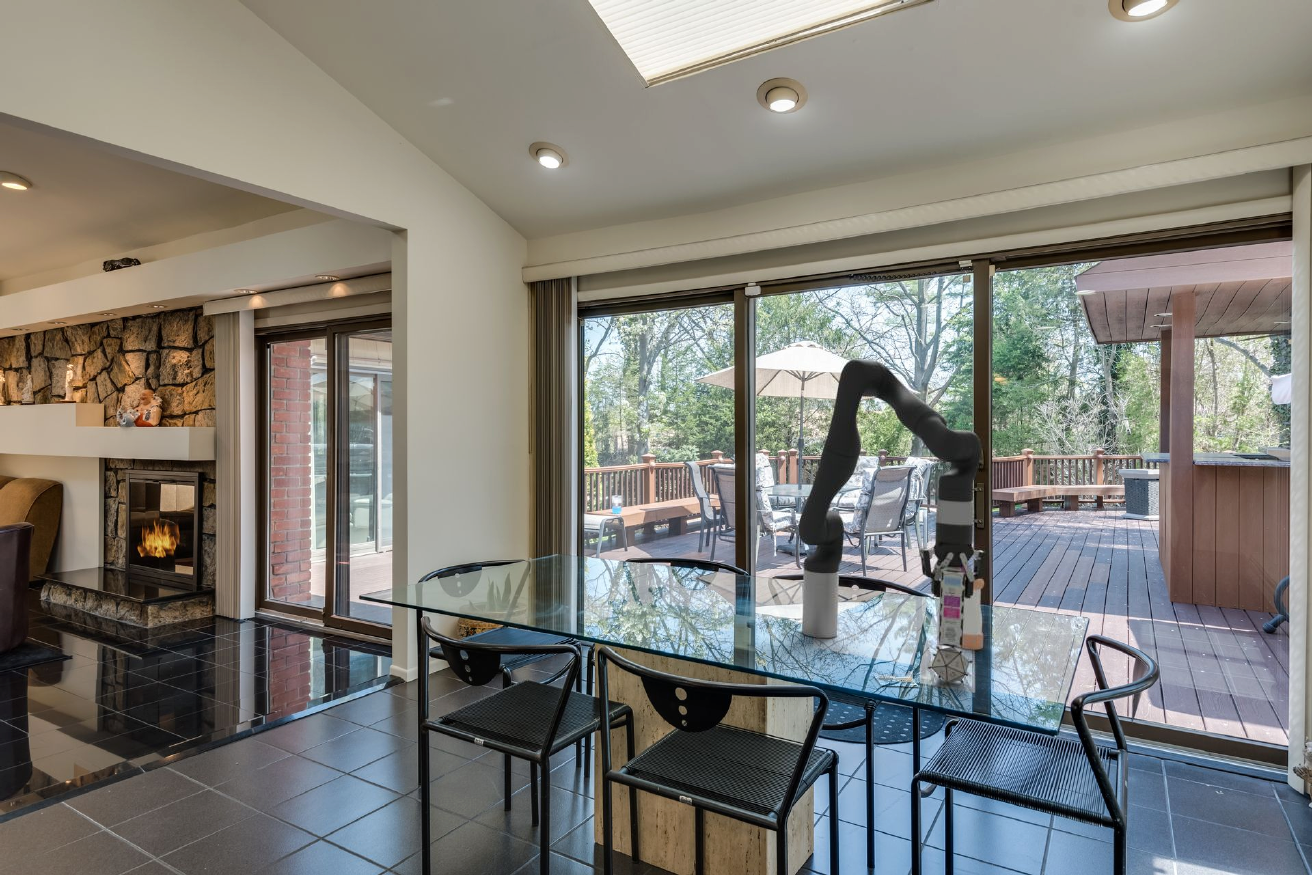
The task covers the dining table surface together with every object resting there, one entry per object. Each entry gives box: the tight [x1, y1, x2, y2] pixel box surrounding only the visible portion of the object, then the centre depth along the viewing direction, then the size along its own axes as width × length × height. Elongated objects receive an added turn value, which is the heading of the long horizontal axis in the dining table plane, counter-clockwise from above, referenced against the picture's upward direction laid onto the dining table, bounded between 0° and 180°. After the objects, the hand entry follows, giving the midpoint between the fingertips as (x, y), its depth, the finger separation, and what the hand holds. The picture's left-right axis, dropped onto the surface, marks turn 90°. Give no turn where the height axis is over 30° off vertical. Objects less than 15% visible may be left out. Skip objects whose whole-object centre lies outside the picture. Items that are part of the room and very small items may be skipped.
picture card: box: [873, 674, 920, 688], centre depth 158 cm, size 6×8×1 cm
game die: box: [927, 646, 974, 687], centre depth 159 cm, size 9×8×10 cm
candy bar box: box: [938, 567, 965, 649], centre depth 159 cm, size 11×5×16 cm, turn 159°
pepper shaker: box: [961, 578, 985, 651], centre depth 187 cm, size 7×7×19 cm
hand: (951, 596), depth 159 cm, fingers closed on candy bar box, 6 cm apart
